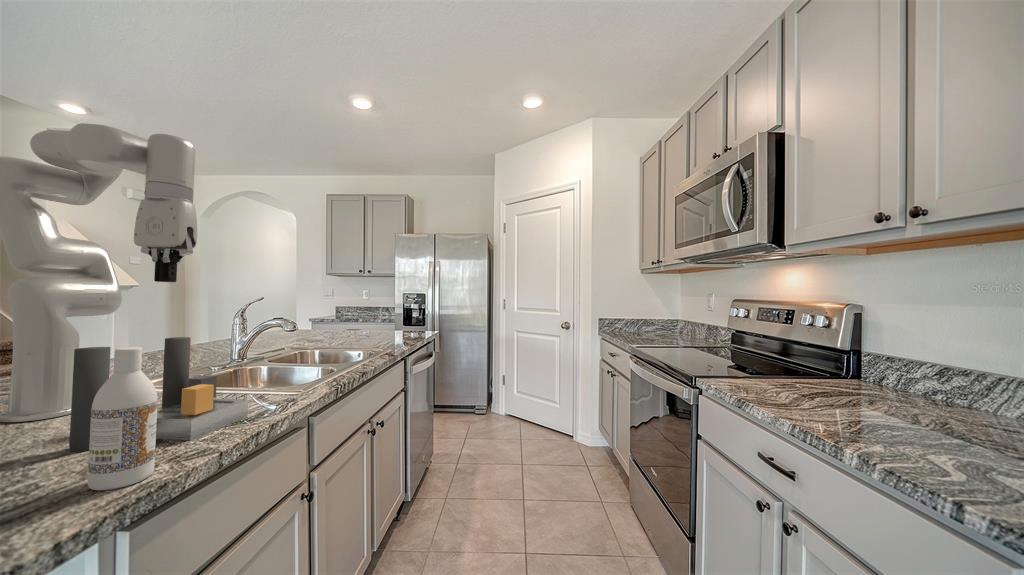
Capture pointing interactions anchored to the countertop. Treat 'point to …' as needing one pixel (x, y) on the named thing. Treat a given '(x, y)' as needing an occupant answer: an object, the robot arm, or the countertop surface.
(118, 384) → the bath foam
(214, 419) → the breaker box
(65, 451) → the countertop surface
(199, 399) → the tab orange
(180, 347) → the post
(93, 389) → the post
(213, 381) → the grey small block
